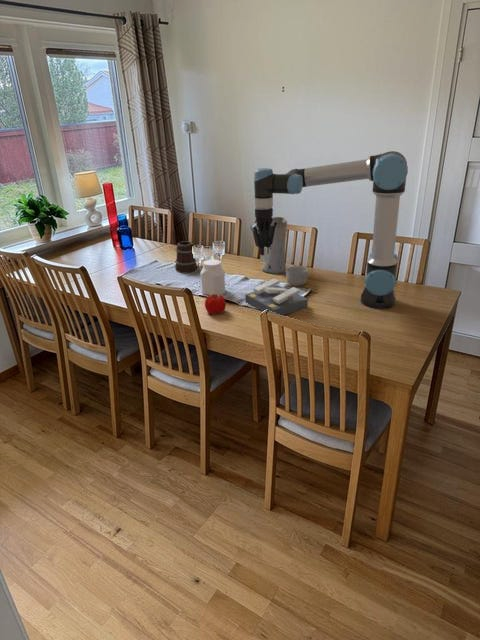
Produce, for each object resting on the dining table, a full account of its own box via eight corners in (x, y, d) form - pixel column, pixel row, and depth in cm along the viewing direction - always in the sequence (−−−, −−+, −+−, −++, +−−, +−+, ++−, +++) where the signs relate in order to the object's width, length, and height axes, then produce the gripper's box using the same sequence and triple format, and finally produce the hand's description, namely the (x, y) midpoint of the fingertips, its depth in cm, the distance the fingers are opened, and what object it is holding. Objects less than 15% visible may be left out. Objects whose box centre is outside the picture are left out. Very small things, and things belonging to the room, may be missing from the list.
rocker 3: (300, 292, 192) (299, 289, 191) (279, 303, 187) (278, 300, 186) (293, 289, 195) (293, 286, 194) (273, 300, 190) (272, 297, 189)
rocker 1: (279, 283, 203) (279, 280, 202) (259, 293, 198) (258, 290, 197) (274, 280, 206) (273, 277, 205) (253, 290, 201) (253, 287, 200)
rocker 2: (288, 293, 198) (289, 290, 198) (268, 293, 191) (269, 289, 191) (282, 290, 201) (283, 287, 201) (262, 290, 194) (263, 286, 194)
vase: (259, 274, 236) (260, 222, 223) (266, 265, 248) (266, 216, 235) (283, 276, 233) (285, 224, 220) (288, 267, 244) (290, 217, 231)
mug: (189, 274, 237) (187, 247, 231) (171, 270, 243) (169, 244, 236) (205, 265, 250) (203, 239, 243) (187, 262, 255) (185, 237, 248)
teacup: (306, 288, 216) (307, 273, 212) (284, 287, 218) (284, 272, 214) (308, 278, 228) (308, 264, 224) (287, 277, 230) (287, 263, 226)
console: (307, 307, 196) (308, 291, 193) (274, 318, 187) (274, 302, 183) (277, 292, 212) (277, 278, 208) (245, 302, 202) (245, 287, 199)
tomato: (201, 312, 194) (200, 296, 190) (216, 306, 199) (216, 290, 196) (215, 318, 188) (215, 302, 184) (230, 312, 193) (230, 296, 190)
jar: (228, 290, 216) (227, 260, 209) (219, 297, 208) (217, 267, 202) (208, 286, 221) (206, 257, 214) (198, 293, 213) (196, 263, 206)
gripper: (270, 204, 190) (270, 256, 200) (245, 208, 183) (247, 262, 194) (281, 206, 185) (281, 260, 195) (256, 211, 178) (257, 266, 188)
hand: (264, 261), depth 194 cm, fingers closed
